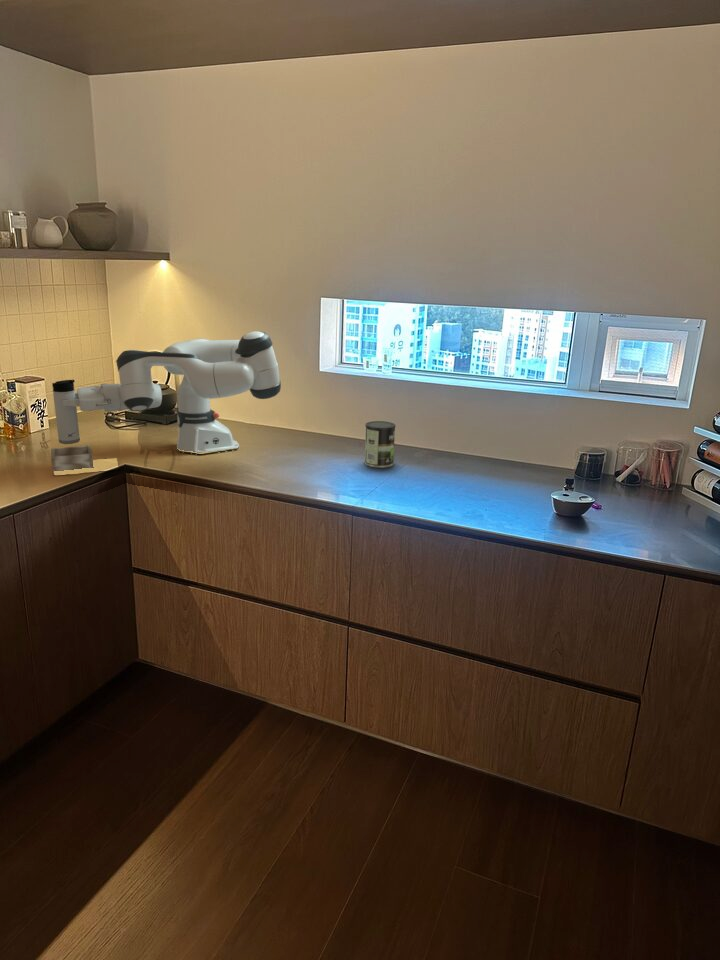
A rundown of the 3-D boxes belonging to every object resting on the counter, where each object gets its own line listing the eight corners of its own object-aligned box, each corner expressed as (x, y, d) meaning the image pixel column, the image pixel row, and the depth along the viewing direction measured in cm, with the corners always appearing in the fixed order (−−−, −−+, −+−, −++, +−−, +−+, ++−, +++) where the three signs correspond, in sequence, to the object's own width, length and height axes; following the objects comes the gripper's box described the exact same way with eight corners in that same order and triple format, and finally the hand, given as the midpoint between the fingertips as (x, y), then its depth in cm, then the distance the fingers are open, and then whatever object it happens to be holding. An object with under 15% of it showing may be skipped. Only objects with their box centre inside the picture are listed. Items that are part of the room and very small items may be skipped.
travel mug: (75, 444, 213) (68, 381, 207) (55, 443, 213) (47, 381, 207) (84, 439, 219) (78, 378, 213) (64, 438, 219) (57, 377, 213)
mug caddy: (117, 460, 230) (115, 443, 228) (120, 470, 220) (118, 452, 218) (53, 465, 222) (51, 448, 220) (53, 476, 212) (51, 458, 210)
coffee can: (395, 460, 239) (397, 421, 235) (391, 469, 229) (392, 428, 225) (367, 458, 241) (368, 419, 236) (361, 466, 231) (362, 426, 227)
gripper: (112, 414, 209) (64, 417, 204) (107, 401, 227) (62, 403, 221) (110, 394, 207) (62, 396, 202) (105, 382, 225) (60, 384, 219)
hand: (62, 400), depth 212 cm, fingers closed on travel mug, 6 cm apart
